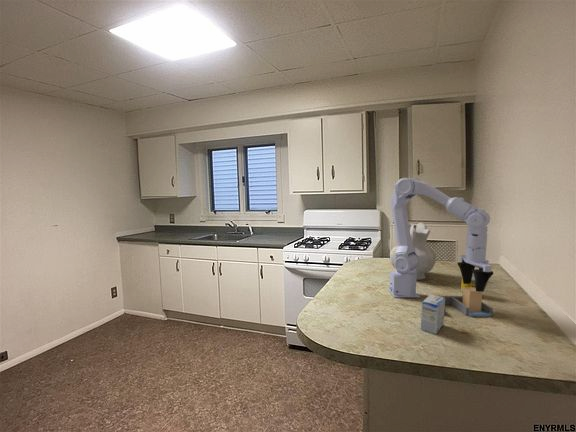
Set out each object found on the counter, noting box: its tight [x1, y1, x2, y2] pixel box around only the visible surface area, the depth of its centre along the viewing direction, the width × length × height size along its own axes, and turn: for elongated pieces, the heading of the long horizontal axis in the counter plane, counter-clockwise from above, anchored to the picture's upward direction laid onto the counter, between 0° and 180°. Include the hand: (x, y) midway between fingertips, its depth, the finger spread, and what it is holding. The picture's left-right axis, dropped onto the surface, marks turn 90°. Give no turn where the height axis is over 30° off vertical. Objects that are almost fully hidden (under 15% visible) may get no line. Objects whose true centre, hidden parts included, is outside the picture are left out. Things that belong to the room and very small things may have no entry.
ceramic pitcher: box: [389, 221, 437, 281], centre depth 144 cm, size 22×20×25 cm
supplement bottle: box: [460, 273, 475, 296], centre depth 122 cm, size 5×5×10 cm
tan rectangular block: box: [462, 287, 483, 312], centre depth 107 cm, size 4×4×7 cm
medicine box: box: [420, 294, 446, 335], centre depth 94 cm, size 8×4×9 cm, turn 141°
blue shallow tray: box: [439, 295, 493, 318], centre depth 108 cm, size 16×12×2 cm
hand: (473, 287), depth 107 cm, fingers open, 7 cm apart
